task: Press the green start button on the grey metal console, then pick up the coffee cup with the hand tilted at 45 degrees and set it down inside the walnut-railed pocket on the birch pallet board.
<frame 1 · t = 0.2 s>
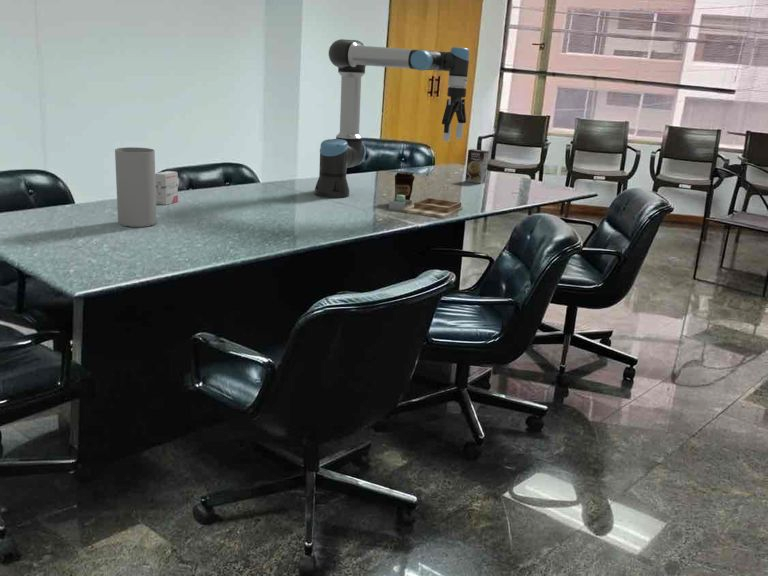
hand: (452, 139, 319), 28 cm above the table, tool pointing down, fingers open, 13 cm apart
ink box: (166, 203, 298), on the table
pallet: (432, 210, 314), on the table
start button: (400, 199, 313), point 4 cm above the table, slide at 0.0 cm
coffee box: (475, 182, 393), on the table
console: (399, 208, 314), on the table
coffee cup: (402, 203, 326), on the table
cylinder vase: (137, 224, 262), on the table
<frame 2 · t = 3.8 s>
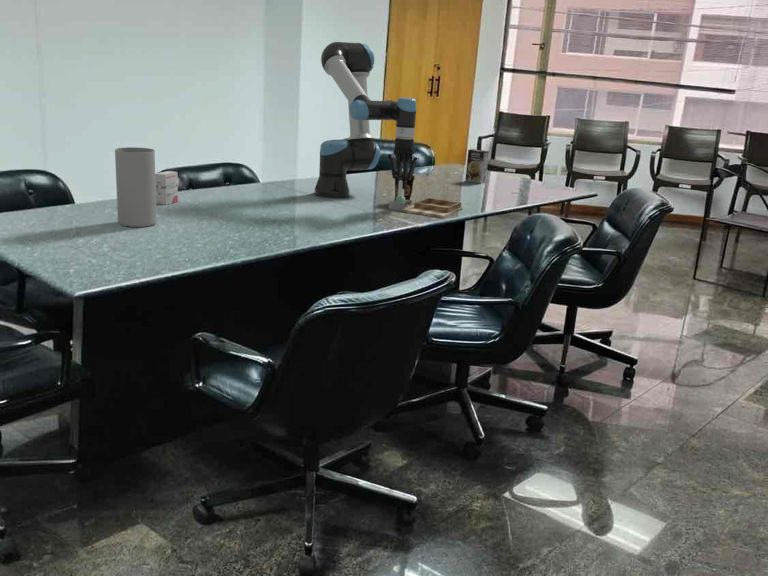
hand: (400, 196, 312), 5 cm above the table, tool pointing down, fingers closed
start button: (400, 201, 313), point 3 cm above the table, slide at 0.7 cm, touching gripper
everything else where it was.
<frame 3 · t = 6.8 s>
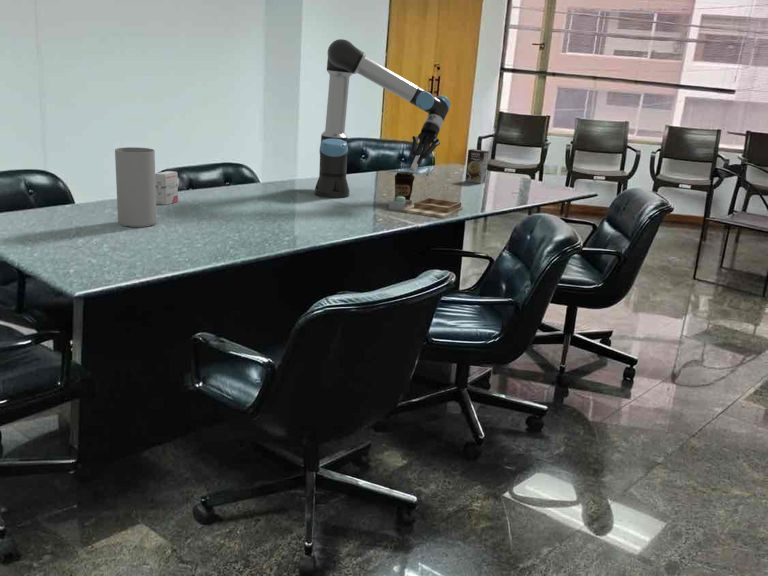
hand: (413, 169, 328), 14 cm above the table, tool tilted 45°, fingers closed
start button: (400, 201, 313), point 3 cm above the table, slide at 0.7 cm
everything else where it was.
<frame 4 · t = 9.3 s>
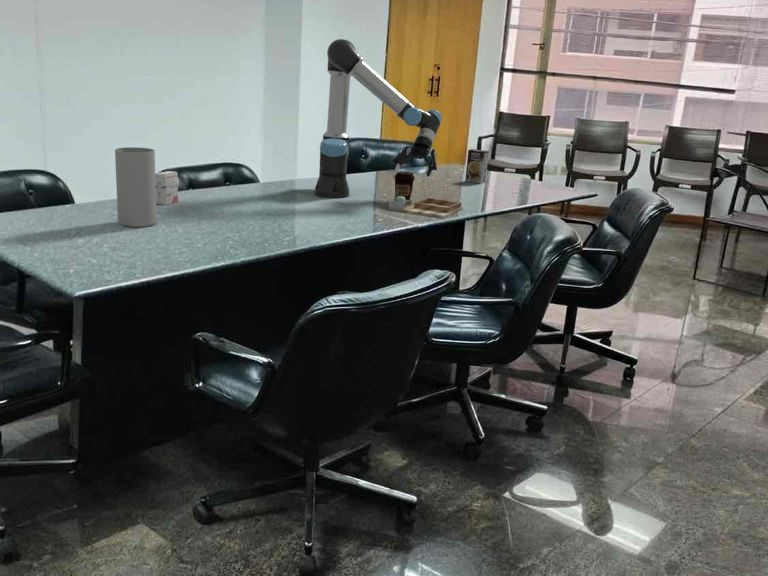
hand: (408, 179, 327), 10 cm above the table, tool tilted 45°, fingers open, 13 cm apart
nothing on the table moved.
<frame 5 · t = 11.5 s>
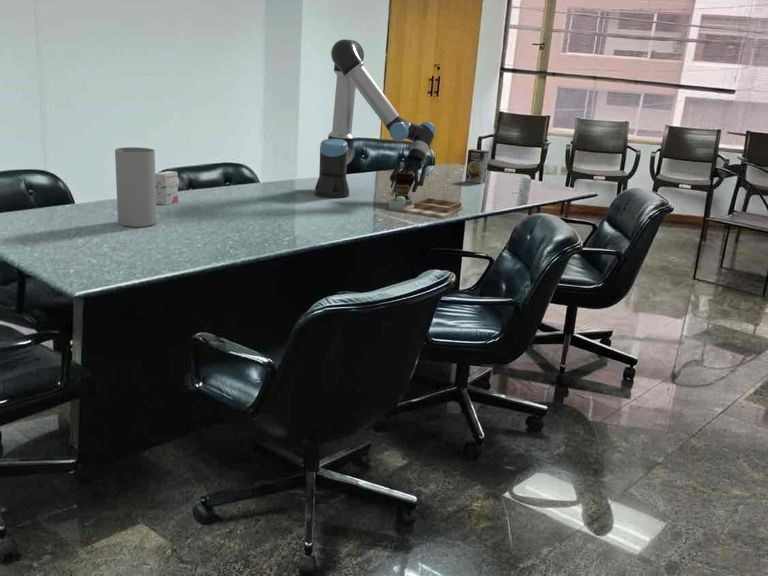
hand: (400, 196, 322), 4 cm above the table, tool tilted 45°, fingers closed on coffee cup, 7 cm apart
coffee cup: (402, 203, 326), on the table, touching gripper
everything else where it was.
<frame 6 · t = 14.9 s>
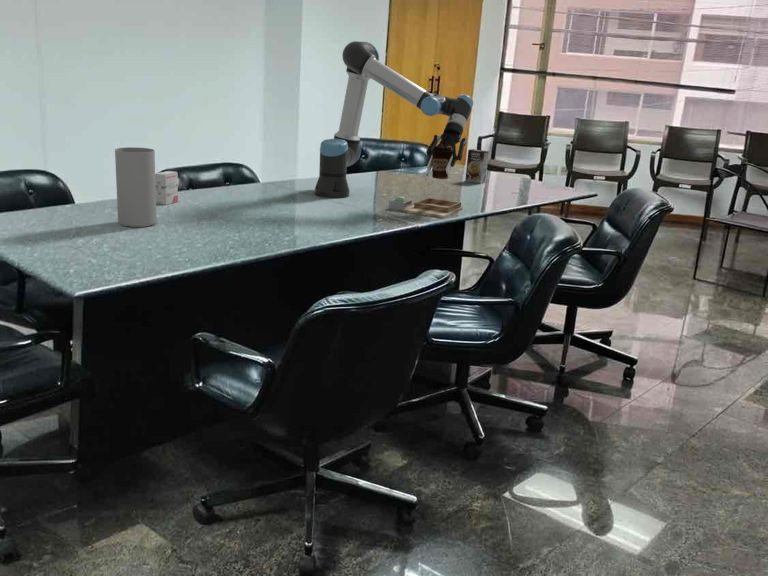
hand: (437, 170, 309), 17 cm above the table, tool tilted 45°, fingers closed on coffee cup, 7 cm apart
coffee cup: (440, 178, 313), point 13 cm above the table, touching gripper
everything else where it was.
when the fingers open (5 cm above the table, at t = 18.4 s): coffee cup stays where it is, resting on pallet.
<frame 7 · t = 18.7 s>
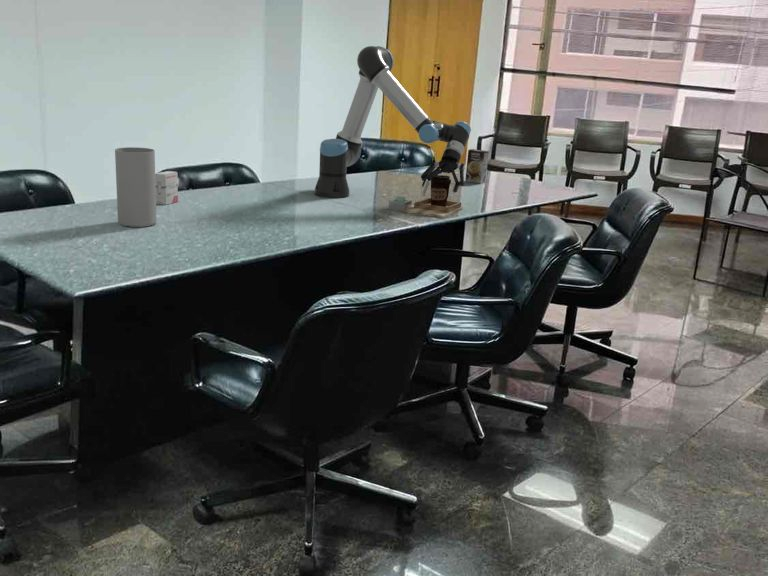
hand: (436, 195, 312), 6 cm above the table, tool tilted 45°, fingers open, 11 cm apart
coffee cup: (438, 207, 316), point 1 cm above the table, touching pallet
everything else where it was.
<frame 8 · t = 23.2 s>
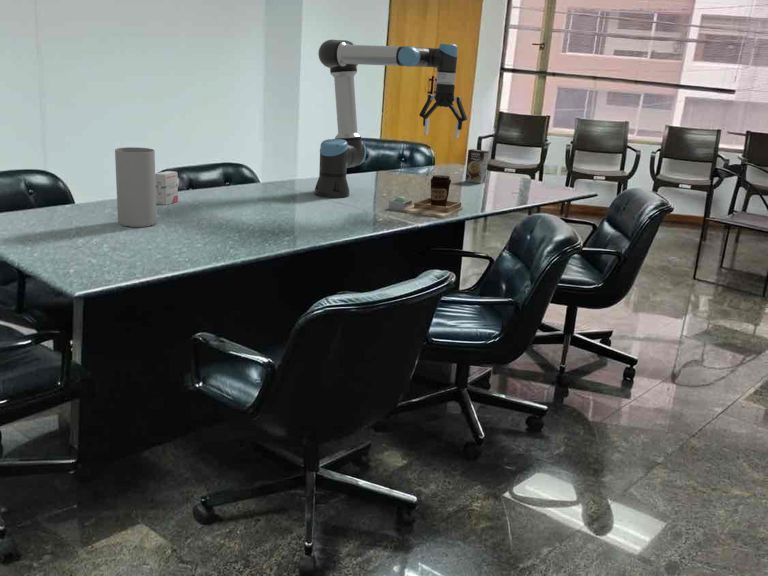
hand: (441, 136, 320), 29 cm above the table, tool pointing down, fingers open, 13 cm apart
nothing on the table moved.
at the end: coffee cup 0.3 cm from the target spot on the pallet, point 0.8 cm above the pallet's base; coffee cup tilted 0°; the gripper is holding nothing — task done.
